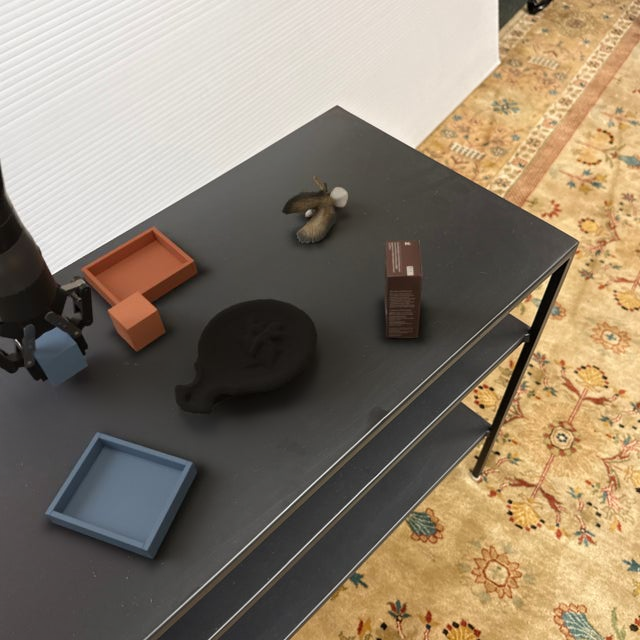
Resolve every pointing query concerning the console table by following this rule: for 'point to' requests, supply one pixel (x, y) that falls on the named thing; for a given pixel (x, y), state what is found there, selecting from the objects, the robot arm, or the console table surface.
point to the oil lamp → (248, 353)
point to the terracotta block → (137, 321)
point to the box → (403, 288)
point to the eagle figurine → (316, 210)
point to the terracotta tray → (140, 268)
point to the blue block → (58, 356)
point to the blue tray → (123, 494)
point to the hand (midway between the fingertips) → (61, 363)
